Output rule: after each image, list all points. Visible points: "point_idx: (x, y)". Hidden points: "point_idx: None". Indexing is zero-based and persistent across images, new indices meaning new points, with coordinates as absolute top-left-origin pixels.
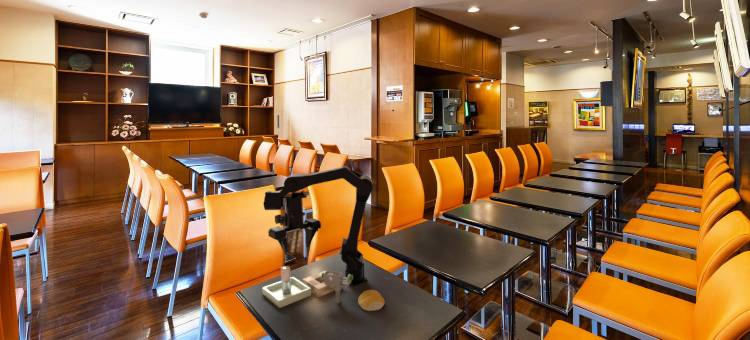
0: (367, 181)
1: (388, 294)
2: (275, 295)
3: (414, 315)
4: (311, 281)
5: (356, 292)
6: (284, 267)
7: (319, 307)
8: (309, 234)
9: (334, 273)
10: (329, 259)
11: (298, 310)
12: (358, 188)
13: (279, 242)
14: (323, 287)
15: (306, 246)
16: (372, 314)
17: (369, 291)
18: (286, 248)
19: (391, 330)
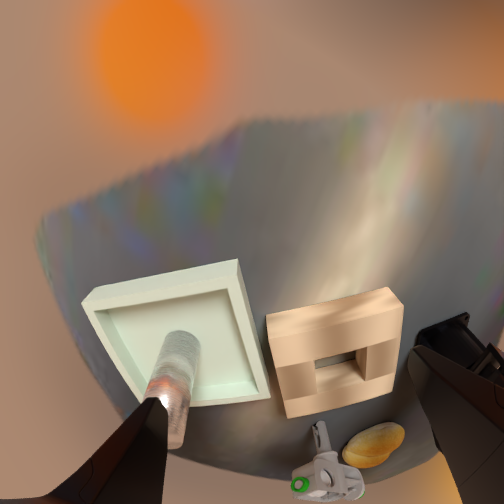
0: None
1: (424, 418)
2: (137, 341)
3: (390, 463)
4: (293, 371)
5: (387, 401)
6: None
7: (261, 427)
8: (473, 482)
9: (334, 488)
10: (478, 113)
11: (202, 418)
12: None
13: (72, 489)
14: (310, 412)
15: (413, 355)
16: (343, 459)
17: (384, 452)
18: (157, 480)
19: None
